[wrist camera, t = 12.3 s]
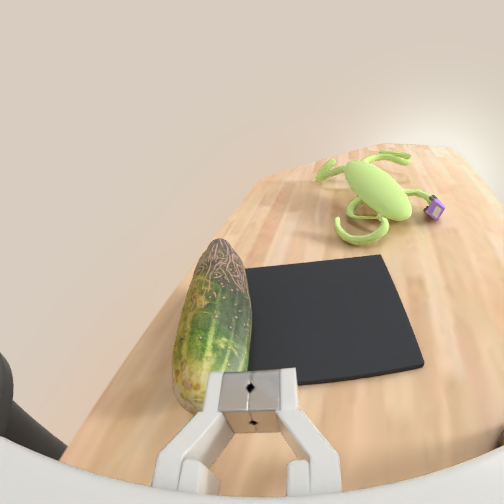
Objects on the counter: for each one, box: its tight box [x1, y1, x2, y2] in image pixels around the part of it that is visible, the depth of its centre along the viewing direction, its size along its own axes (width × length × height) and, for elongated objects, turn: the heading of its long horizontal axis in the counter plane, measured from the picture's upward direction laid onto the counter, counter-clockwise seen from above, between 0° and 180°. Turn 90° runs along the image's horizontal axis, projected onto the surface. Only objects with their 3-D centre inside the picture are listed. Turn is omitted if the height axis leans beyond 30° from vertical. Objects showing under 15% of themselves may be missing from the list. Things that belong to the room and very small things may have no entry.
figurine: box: [315, 150, 445, 245], centre depth 46 cm, size 18×27×6 cm
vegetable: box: [172, 239, 252, 415], centre depth 27 cm, size 6×6×20 cm
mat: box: [245, 255, 424, 385], centre depth 30 cm, size 20×16×1 cm
